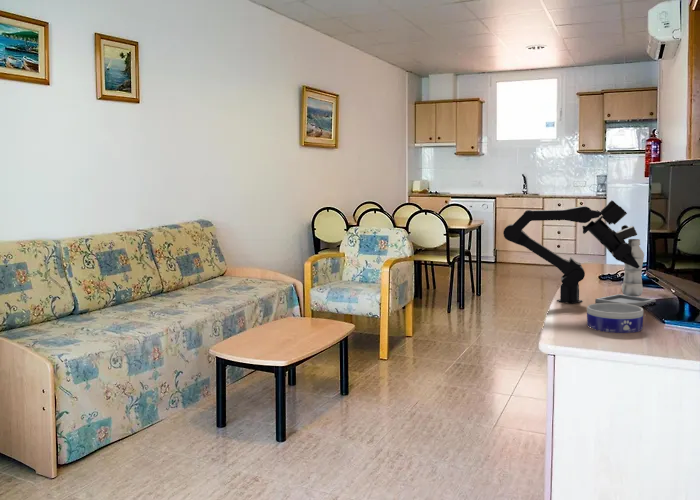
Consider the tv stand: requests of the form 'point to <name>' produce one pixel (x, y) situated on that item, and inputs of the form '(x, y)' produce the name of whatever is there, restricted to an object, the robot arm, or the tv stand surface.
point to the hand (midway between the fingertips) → (637, 266)
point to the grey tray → (625, 300)
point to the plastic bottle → (633, 271)
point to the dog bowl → (615, 317)
